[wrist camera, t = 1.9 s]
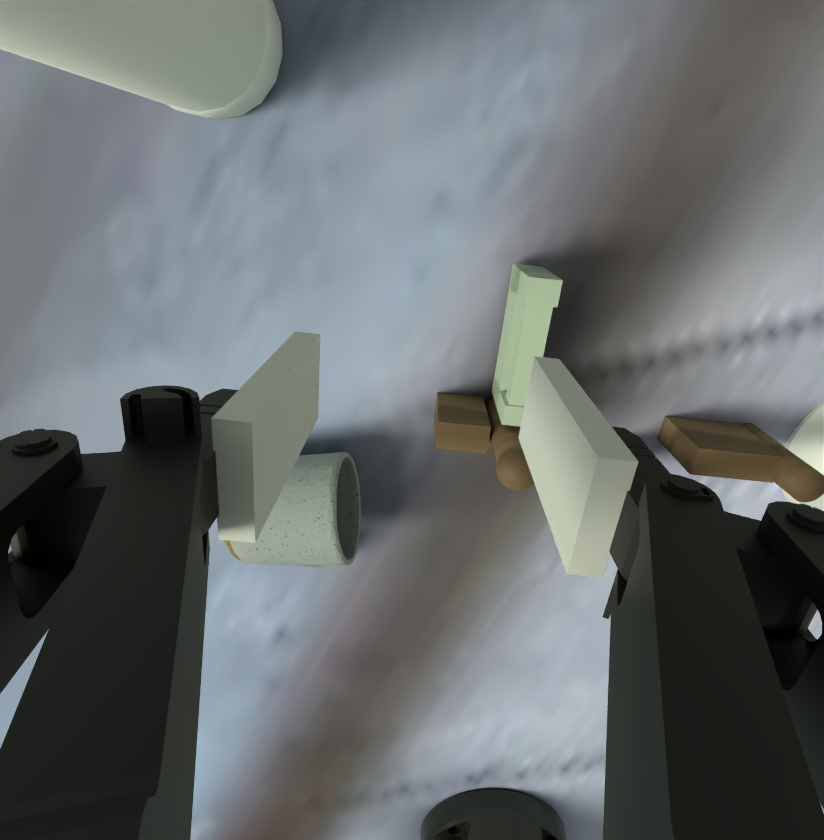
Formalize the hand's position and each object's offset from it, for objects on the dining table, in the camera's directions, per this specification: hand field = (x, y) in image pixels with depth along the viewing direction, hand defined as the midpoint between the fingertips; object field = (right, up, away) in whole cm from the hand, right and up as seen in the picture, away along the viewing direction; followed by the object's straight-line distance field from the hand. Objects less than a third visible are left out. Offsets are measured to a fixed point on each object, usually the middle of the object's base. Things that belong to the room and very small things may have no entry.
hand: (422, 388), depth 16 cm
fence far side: (+20, -2, +21) cm, 29 cm away
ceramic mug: (-8, -7, +24) cm, 26 cm away
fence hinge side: (+4, 0, +21) cm, 21 cm away
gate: (+6, +5, +18) cm, 19 cm away
